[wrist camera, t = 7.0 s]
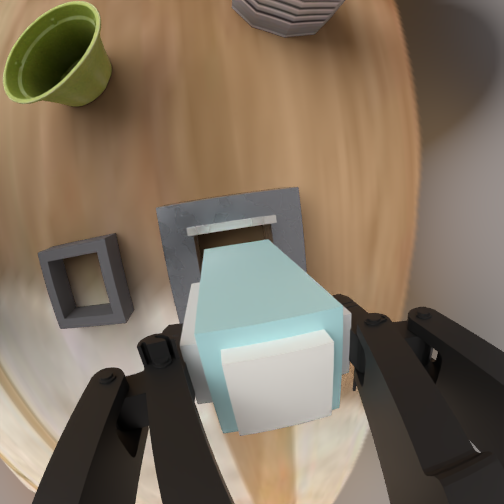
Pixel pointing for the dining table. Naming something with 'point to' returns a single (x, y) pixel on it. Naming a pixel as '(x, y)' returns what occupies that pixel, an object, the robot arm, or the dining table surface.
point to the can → (287, 15)
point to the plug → (267, 339)
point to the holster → (112, 276)
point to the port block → (226, 218)
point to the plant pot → (59, 58)
